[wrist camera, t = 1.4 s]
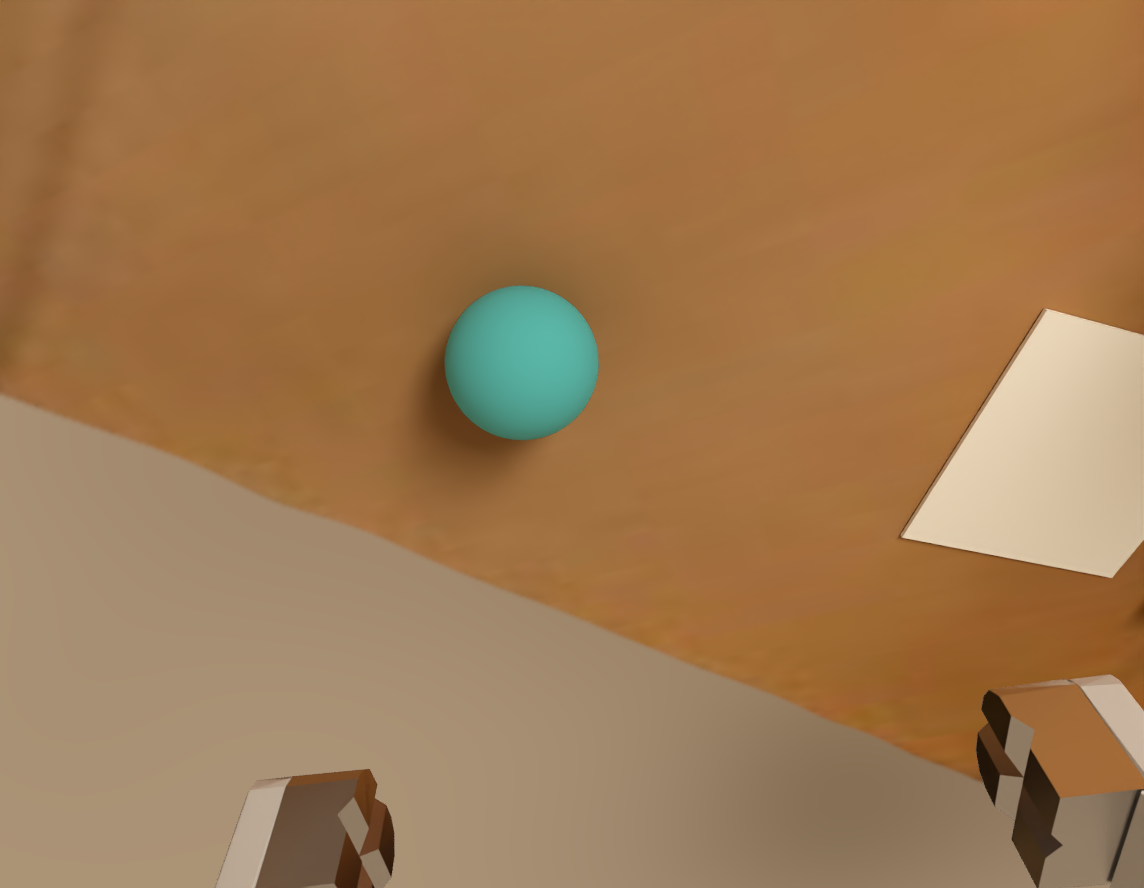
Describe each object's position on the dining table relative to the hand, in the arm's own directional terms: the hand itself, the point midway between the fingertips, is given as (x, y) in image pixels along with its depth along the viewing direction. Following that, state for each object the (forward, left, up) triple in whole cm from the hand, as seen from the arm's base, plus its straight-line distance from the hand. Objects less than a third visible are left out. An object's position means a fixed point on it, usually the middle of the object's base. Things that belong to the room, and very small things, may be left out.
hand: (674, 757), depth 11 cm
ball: (0, -5, -20) cm, 20 cm away
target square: (+26, -5, -23) cm, 34 cm away
